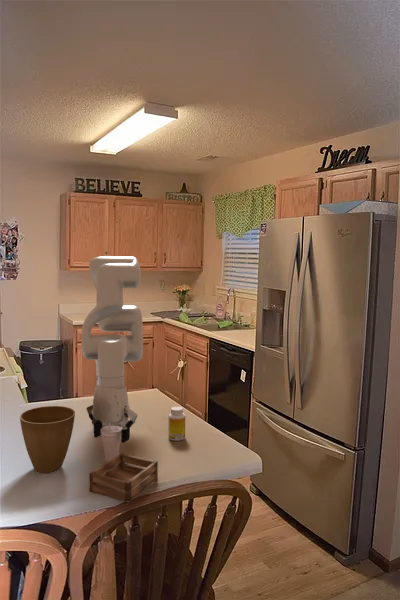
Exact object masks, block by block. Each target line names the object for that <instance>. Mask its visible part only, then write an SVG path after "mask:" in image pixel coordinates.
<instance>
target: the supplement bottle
mask: <svg viewBox="0 0 400 600" xmlns="http://www.w3.org/2000/svg"><path fill="white" fill-rule="evenodd" d="M167 427H168V433H167V434H168V439H169V440H170V441H173V442H175V441H176V442H178V441H183V440H185V438H186V414H185V413H184V408H183V407H182V406H172V407H171V409H170V413H169V414H168V426H167Z"/></svg>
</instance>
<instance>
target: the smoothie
mask: <svg viewBox="0 0 400 600" xmlns="http://www.w3.org/2000/svg"><path fill="white" fill-rule="evenodd" d="M122 429H123V427H122V426H115V425H110V422H109V426H105V427H102V428H101V434H102V435H101V438H102V445H103V454H104V461H105V463H107V462H108V461H110V460H111V459H113V458H114V457H116V456H118V455H119V454H120V445H121V430H122Z"/></svg>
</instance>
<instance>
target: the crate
mask: <svg viewBox="0 0 400 600" xmlns="http://www.w3.org/2000/svg"><path fill="white" fill-rule="evenodd" d="M158 464H159V463H158V461H157V460H153V459H148V458H147V459H146V458H143V457H139V456H134V455H129V454H126V453H122V452H119V455H118V456H116V457H114V458H113V459H111V460H110V461H108V462H107V463H106V462H105V463H104V464H102V465H101V466H99V467H97V468H96V469H94V470H93V471H91V472H89V476H88V479H89V480H88V481H89V483H88V484H89V485H88V486H89V488H88V490H89V493H91V494H96V495H99V496H103V497H107V498H110V499H114V500H116V501H117V500H118V501H121V502H125V503H128V502H127V501H130V500H131V501H133V500H134V499H135V498H136V497H138V496H139V495H140V494H141V493H142V492H144V491H145V490H147V488H149V486H151V485H152V484H153V483H155V482H156V481H157V480H158V472H159V471H158V468H159V466H158ZM131 501H130V502H131Z"/></svg>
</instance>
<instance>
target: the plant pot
mask: <svg viewBox="0 0 400 600" xmlns="http://www.w3.org/2000/svg"><path fill="white" fill-rule="evenodd" d="M75 417H76V410H74V409H73V408H71V407H68V406H61V405H47V406H44V405H43V406H39V407H34V408H30V409H27V410H24V411H23V412H22V413H21V414H20V415H19V422H20V427H21V432H22V433H21V434H22V437H23V441H24V445H25V449H26V451H27V455H28V458H29V460H30V462H31V464H32V468H33V469H34V471H35V472H36V473H38V474H53V473H56V472H58V471H60V470H61V469H62V467H63V464H64V463H65V462H64V461H65V459H66V456H67V453H68V450H69V447H70V443H71V438H72V435H73V434H72V433H73V430H74V424H75V423H74V422H75V419H76V418H75Z"/></svg>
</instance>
